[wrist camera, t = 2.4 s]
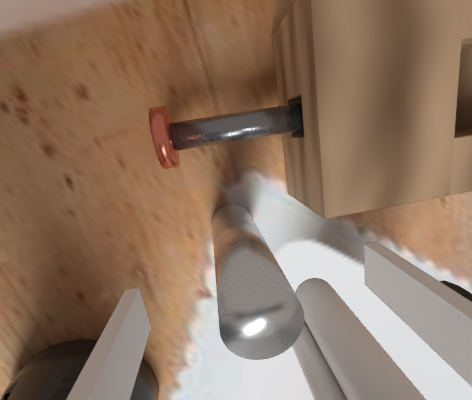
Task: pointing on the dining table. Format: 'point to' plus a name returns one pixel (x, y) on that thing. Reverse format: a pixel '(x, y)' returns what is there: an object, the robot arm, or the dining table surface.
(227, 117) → the lock pin
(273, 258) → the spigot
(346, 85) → the dock
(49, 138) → the dining table surface
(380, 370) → the vase
